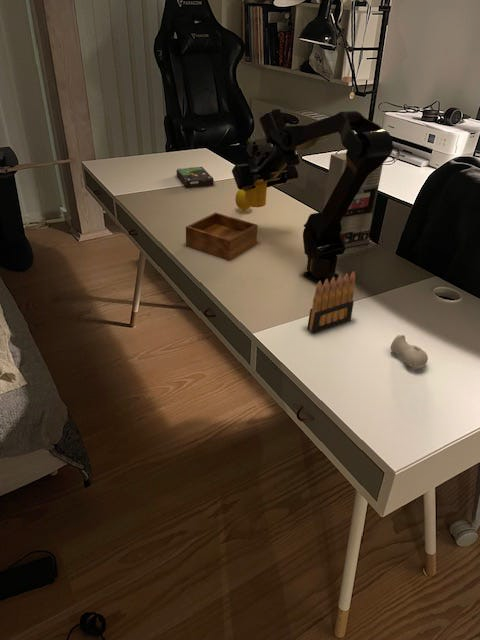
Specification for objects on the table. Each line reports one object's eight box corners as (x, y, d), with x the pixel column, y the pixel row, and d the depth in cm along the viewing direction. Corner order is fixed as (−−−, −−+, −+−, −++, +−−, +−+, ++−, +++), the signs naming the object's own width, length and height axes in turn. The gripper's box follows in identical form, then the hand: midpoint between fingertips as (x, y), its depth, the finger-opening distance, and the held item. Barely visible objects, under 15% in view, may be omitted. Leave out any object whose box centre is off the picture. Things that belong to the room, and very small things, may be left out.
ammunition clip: (312, 333, 105) (319, 283, 99) (306, 329, 107) (313, 279, 100) (350, 320, 110) (360, 272, 104) (345, 316, 111) (354, 268, 105)
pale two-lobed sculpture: (427, 374, 97) (409, 373, 95) (401, 350, 103) (383, 349, 101) (438, 356, 95) (420, 355, 93) (411, 332, 101) (393, 331, 99)
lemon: (250, 215, 159) (251, 190, 155) (233, 213, 160) (234, 188, 156) (253, 208, 164) (255, 184, 159) (237, 207, 165) (237, 183, 160)
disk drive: (214, 186, 181) (202, 173, 193) (214, 178, 180) (202, 166, 191) (186, 188, 178) (175, 175, 190) (186, 180, 177) (175, 167, 188)
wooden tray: (256, 243, 142) (258, 224, 139) (229, 260, 132) (229, 240, 129) (215, 229, 148) (215, 212, 145) (186, 245, 139) (185, 226, 136)
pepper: (269, 206, 143) (271, 175, 138) (248, 208, 141) (250, 176, 136) (261, 199, 148) (263, 168, 143) (241, 200, 146) (242, 169, 141)
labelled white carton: (330, 252, 139) (344, 160, 125) (318, 243, 143) (330, 154, 130) (369, 243, 144) (387, 155, 131) (356, 235, 149) (372, 149, 135)
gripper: (296, 128, 135) (271, 159, 148) (236, 134, 126) (215, 166, 140) (311, 165, 133) (284, 193, 147) (251, 174, 125) (228, 202, 139)
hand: (253, 188), depth 143 cm, fingers closed on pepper, 6 cm apart
